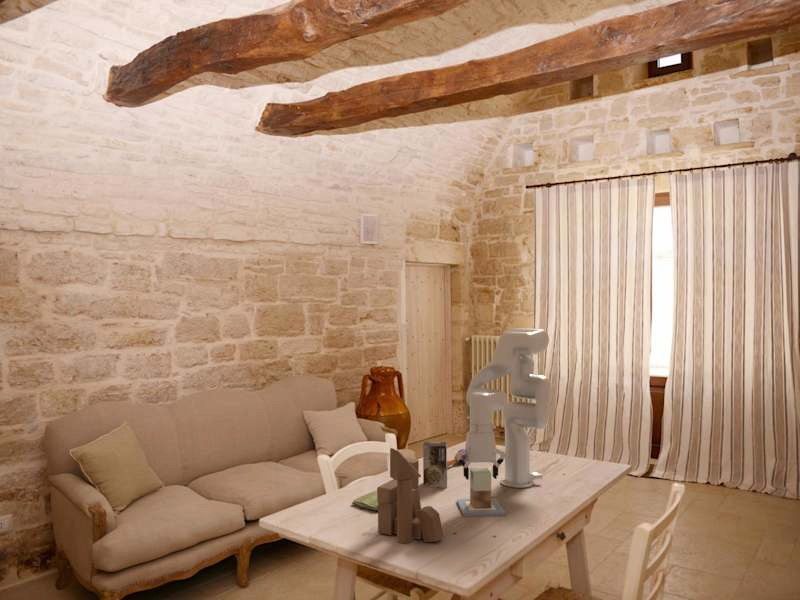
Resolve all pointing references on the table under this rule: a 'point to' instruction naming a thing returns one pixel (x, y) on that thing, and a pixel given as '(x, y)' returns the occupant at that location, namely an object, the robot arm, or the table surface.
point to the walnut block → (480, 499)
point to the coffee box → (435, 464)
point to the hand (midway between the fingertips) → (480, 478)
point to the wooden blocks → (406, 504)
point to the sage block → (480, 479)
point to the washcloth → (367, 501)
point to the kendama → (456, 459)
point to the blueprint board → (470, 511)
